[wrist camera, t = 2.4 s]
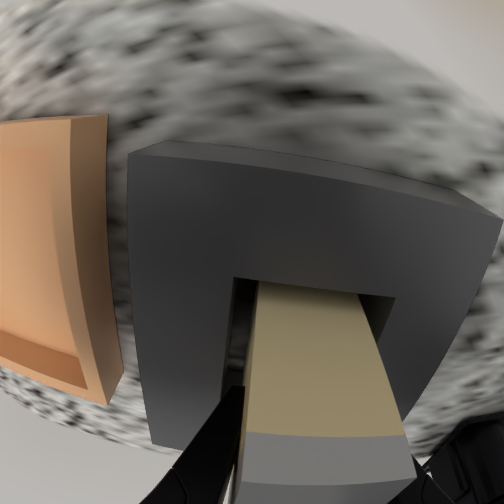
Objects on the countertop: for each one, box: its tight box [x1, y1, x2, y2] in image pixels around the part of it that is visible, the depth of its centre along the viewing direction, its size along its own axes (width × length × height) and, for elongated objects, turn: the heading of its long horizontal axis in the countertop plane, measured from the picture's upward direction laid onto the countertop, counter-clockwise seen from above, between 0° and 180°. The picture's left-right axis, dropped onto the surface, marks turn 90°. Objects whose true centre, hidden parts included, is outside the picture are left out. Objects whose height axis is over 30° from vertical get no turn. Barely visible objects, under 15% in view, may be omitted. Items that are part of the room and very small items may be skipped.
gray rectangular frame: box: [127, 140, 504, 451], centre depth 11 cm, size 10×12×3 cm
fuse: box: [228, 280, 417, 504], centre depth 9 cm, size 3×5×8 cm, turn 173°
